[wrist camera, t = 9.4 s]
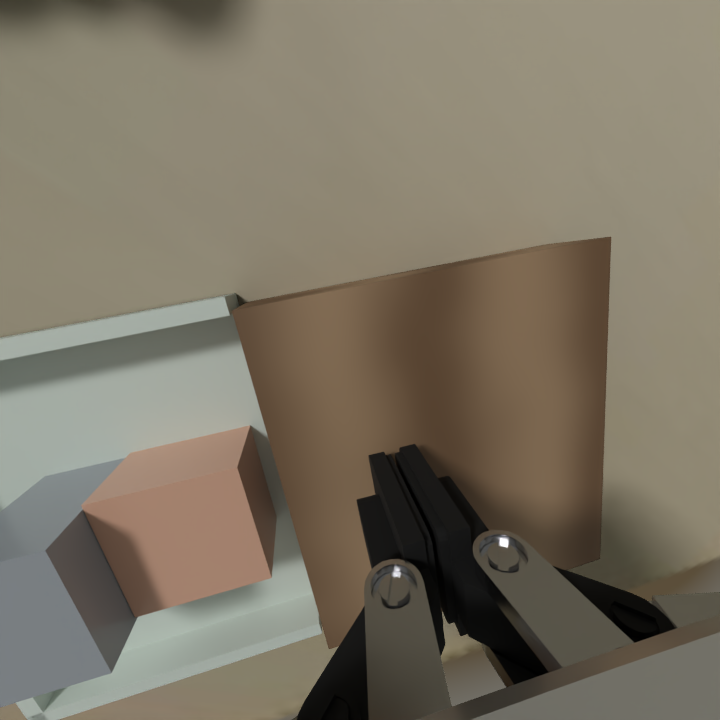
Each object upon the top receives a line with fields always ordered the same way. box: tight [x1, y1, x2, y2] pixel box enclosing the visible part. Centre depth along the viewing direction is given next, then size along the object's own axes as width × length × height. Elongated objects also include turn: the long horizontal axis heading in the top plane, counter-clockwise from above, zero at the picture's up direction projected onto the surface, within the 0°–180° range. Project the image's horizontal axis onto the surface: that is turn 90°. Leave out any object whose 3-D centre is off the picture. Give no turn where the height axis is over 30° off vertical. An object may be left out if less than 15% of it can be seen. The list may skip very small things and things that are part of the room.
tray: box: [0, 293, 322, 720], centre depth 13 cm, size 12×15×2 cm
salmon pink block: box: [81, 425, 277, 618], centre depth 12 cm, size 4×4×3 cm
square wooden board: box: [232, 237, 611, 649], centre depth 14 cm, size 13×14×3 cm
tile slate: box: [0, 458, 138, 707], centre depth 11 cm, size 4×4×3 cm
